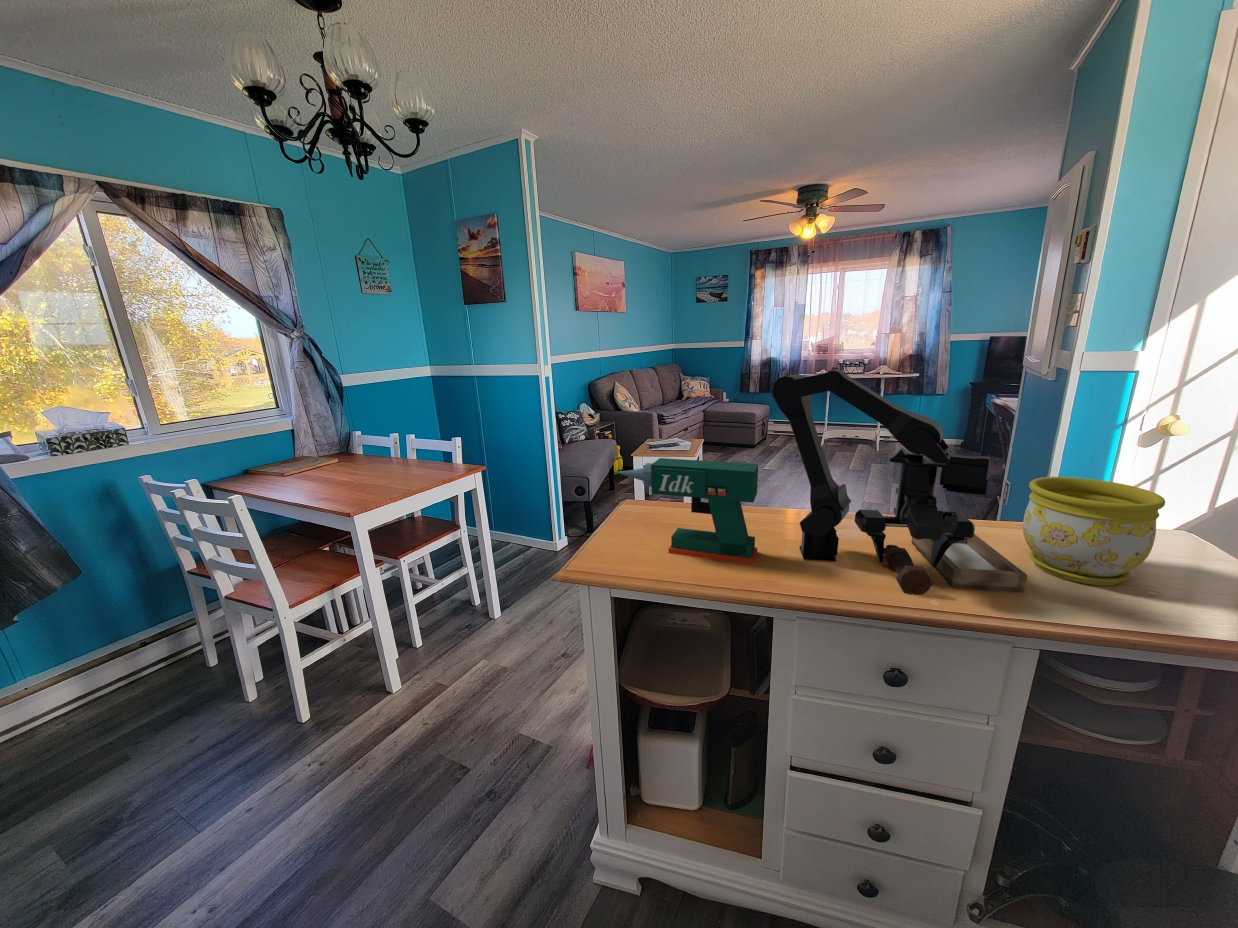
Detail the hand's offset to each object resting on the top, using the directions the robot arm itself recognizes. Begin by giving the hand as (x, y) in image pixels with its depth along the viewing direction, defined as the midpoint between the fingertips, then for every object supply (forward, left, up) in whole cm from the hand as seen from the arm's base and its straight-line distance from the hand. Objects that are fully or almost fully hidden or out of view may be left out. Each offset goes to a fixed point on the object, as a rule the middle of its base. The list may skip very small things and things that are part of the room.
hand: (906, 564), depth 92 cm
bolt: (-1, 0, -3) cm, 3 cm away
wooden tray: (+12, +6, -2) cm, 14 cm away
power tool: (-44, +6, -2) cm, 44 cm away
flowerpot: (+32, +7, -2) cm, 33 cm away
